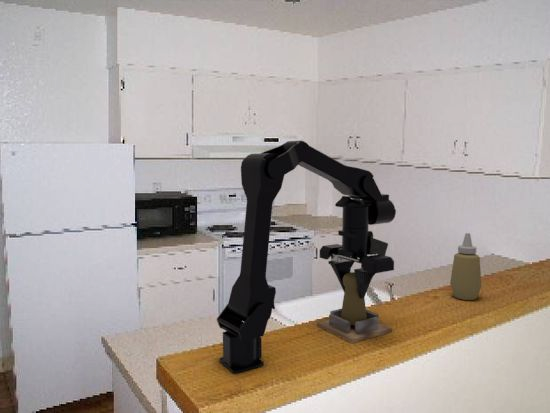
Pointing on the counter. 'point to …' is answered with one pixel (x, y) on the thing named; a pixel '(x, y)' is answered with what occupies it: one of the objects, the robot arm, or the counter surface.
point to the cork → (352, 301)
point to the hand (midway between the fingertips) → (354, 295)
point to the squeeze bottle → (466, 271)
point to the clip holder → (354, 326)
